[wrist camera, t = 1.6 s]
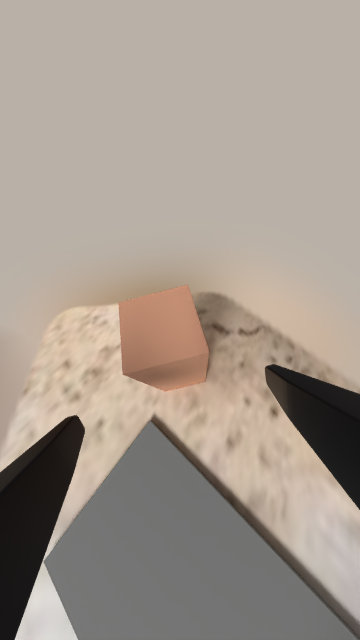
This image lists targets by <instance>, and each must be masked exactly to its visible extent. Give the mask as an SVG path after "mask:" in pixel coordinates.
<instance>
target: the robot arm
mask: <svg viewBox="0 0 360 640" xmlns="http://www.w3.org/2000/svg"><path fill="white" fill-rule="evenodd" d="M265 375H266V382H267V385H268V387H269V388H270V390H271V391H272V393H273V395H274V396H275V398H276V399H277V401H278V402H279V404H280V406H281V407H282V409H283V410H284V412H285V413H286V415H287V416H288V418H289V419H290V421H291V422H292V423H293V425H294V426H295V427H296V428H297V430H298V431H299V432H300V434H301V435H302V436H303V437H304V439H305V440H306V441H307V443H308V444H309V445H310V446H311V448H312V449H313V450H314V452H315V453H316V454H317V455H318V457H319V458H320V459H321V461H322V462H323V463H324V464H325V466H326V467H327V468H328V470H329V471H330V472H331V474H332V475H333V476H334V477H335V479H336V480H337V481H338V483H339V484H340V485H341V486H342V488H343V489H344V490H345V492H346V493H347V494H348V495H349V497H350V498H351V499H352V501H353V502H354V503H355V504H356V506H357V507H358V508H359V510H360V394H358V393H355V392H352V391H349V390H347V389H344V388H341V387H338V386H335V385H332V384H329V383H327V382H324V381H321V380H318V379H315V378H312V377H309V376H307V375H304V374H301V373H298V372H295V371H292V370H290V369H287V368H284V367H281V366H278V365H275V364H272V365H268V366H266V367H265ZM84 434H85V428H84V426H83V424H82V422H81V421H80V419H79V417H78V416H77V415H74V416H70V417H67V418H65V419H64V420H63V421H62V422H60V423H59V424H58V425H57V426H56V427H54V428H53V429H52V430H51V431H50V432H48V433H47V434H46V435H45V436H44V437H42V438H41V439H40V440H39V441H38V442H36V443H35V444H34V445H33V446H32V447H30V448H29V449H28V450H27V451H26V452H24V453H23V454H22V455H21V456H20V457H18V458H17V459H16V460H15V461H13V462H12V463H11V464H10V465H9V466H7V467H6V468H5V469H4V470H3V471H1V472H0V640H15V637H16V634H17V631H18V628H19V626H20V623H21V620H22V617H23V614H24V612H25V609H26V606H27V603H28V600H29V598H30V595H31V592H32V589H33V586H34V584H35V581H36V578H37V575H38V572H39V570H40V567H41V564H42V561H43V558H44V555H45V553H46V550H47V547H48V544H49V541H50V539H51V536H52V533H53V530H54V527H55V525H56V522H57V519H58V516H59V513H60V511H61V508H62V505H63V502H64V499H65V497H66V494H67V491H68V488H69V485H70V482H71V480H72V477H73V474H74V470H75V467H76V463H77V460H78V456H79V452H80V449H81V445H82V441H83V437H84Z"/></svg>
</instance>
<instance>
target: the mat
mask: <svg viewBox="0 0 360 640" xmlns="http://www.w3.org/2000/svg"><path fill="white" fill-rule="evenodd" d="M44 564H45V566H46V568H47V570H48V573H49V575H50V577H51V579H52V582H53V584H54V586H55V588H56V591H57V593H58V595H59V597H60V600H61V602H62V604H63V606H64V609H65V611H66V613H67V616H68V618H69V620H70V622H71V625H72V627H73V629H74V631H75V634H76V636H77V638H78V640H360V638H359V637H358V636H357V635H356V634H355V633H354V632H353V631H352V630H351V629H350V628H349V627H348V625H347V624H346V623H345V622H344V621H343V620H342V619H341V618H340V617H339V616H338V615H337V614H336V613H335V612H334V611H333V610H332V609H331V608H330V607H329V606H328V605H327V603H326V602H325V601H324V600H323V599H322V598H321V597H320V596H319V595H318V594H317V593H316V592H315V591H314V590H313V589H312V588H311V587H310V586H309V585H308V584H307V583H306V581H305V580H304V579H303V578H302V577H301V576H300V575H299V574H298V573H297V572H296V571H295V570H294V569H293V568H292V567H291V566H290V565H289V564H288V563H287V562H286V561H285V560H284V558H283V557H282V556H281V555H280V554H279V553H278V552H277V551H276V550H275V549H274V548H273V547H272V546H271V545H270V544H269V543H268V542H267V541H266V540H265V539H264V538H263V536H262V535H261V534H260V533H259V532H258V531H257V530H256V529H255V528H254V527H253V526H252V525H251V524H250V523H249V522H248V521H247V520H246V519H245V518H244V517H243V516H242V514H241V513H240V512H239V511H238V510H237V509H236V508H235V507H234V506H233V505H232V504H231V503H230V502H229V501H228V500H227V499H226V498H225V497H224V496H223V495H222V494H221V492H220V491H219V490H218V489H217V488H216V487H215V486H214V485H213V484H212V483H211V482H210V481H209V480H208V479H207V478H206V477H205V476H204V475H203V474H202V473H201V472H200V471H199V469H198V468H197V467H196V466H195V465H194V464H193V463H192V462H191V461H190V460H189V459H188V458H187V457H186V456H185V455H184V454H183V453H182V452H181V451H180V450H179V449H178V447H177V446H176V445H175V444H174V443H173V442H172V441H171V440H170V439H169V438H168V437H167V436H166V435H165V434H164V433H163V432H162V431H161V430H160V429H159V428H158V427H157V425H156V424H155V423H154V422H153V421H152V420H150V421H149V422H148V424H147V425H146V426H145V428H144V429H143V430H142V432H141V433H140V434H139V436H138V437H137V438H136V440H135V441H134V442H133V444H132V445H131V446H130V448H129V449H128V450H127V452H126V453H125V454H124V456H123V457H122V458H121V460H120V461H119V462H118V464H117V465H116V466H115V468H114V469H113V470H112V472H111V473H110V474H109V476H108V477H107V478H106V479H105V481H104V482H103V483H102V485H101V486H100V487H99V489H98V490H97V491H96V493H95V494H94V495H93V497H92V498H91V499H90V501H89V502H88V503H87V505H86V506H85V507H84V509H83V510H82V511H81V513H80V514H79V515H78V517H77V518H76V519H75V521H74V522H73V523H72V525H71V526H70V527H69V529H68V530H67V531H66V533H65V534H64V535H63V537H62V538H61V539H60V541H59V542H58V543H57V544H56V546H55V547H54V548H53V550H52V551H51V552H50V554H49V555H48V556H47V558H46V559H45V560H44Z"/></svg>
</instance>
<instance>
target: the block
mask: <svg viewBox="0 0 360 640" xmlns="http://www.w3.org/2000/svg"><path fill="white" fill-rule="evenodd" d="M119 317H120V335H121V353H122V370H123V375H125V376H128V377H130V378H133V379H136V380H138V381H141V382H143V383H146V384H148V385H151V386H153V387H156V388H158V389H161V390H163V391H170V390H174V389H177V388H181V387H185V386H189V385H193V384H197V383H201V382H205V380H206V373H207V366H208V359H209V349H208V346H207V343H206V340H205V337H204V334H203V331H202V327H201V324H200V321H199V318H198V315H197V312H196V309H195V306H194V302H193V299H192V296H191V293H190V290H189V287H188V285H185V286H181V287H177V288H173V289H169V290H165V291H161V292H158V293H153V294H150V295H146V296H142V297H138V298H134V299H130V300H126V301H122V302H119Z"/></svg>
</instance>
